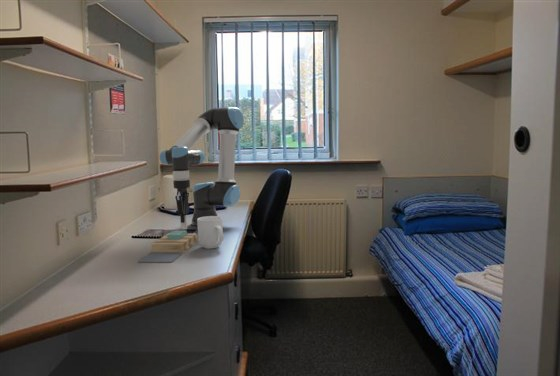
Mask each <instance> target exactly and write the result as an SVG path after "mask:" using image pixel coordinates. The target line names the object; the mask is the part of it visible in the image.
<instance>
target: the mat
mask: <svg viewBox="0 0 560 376" xmlns="http://www.w3.org/2000/svg"><path fill="white" fill-rule="evenodd" d="M183 254H184V253H183V252H152V251H151V252H150V253H148V254H147V255H146V256H144V257H143V258H141V259H140V260H138V261H137V263H148V264H149V263H151V264H152V263H153V264H154V263H157V264H158V263H159V264H160V263H166V264H167V263H168V264H170V263H171V264H172V263H174V262H175V260H177V259H178V258H179V257H180V256H182V255H183Z"/></svg>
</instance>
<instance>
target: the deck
mask: <svg viewBox="0 0 560 376" xmlns="http://www.w3.org/2000/svg"><path fill="white" fill-rule="evenodd" d="M168 234H169V233H167V234H165V235H163V236H162V237H160V238H158V239H157V240H156V241H153V242H152V243H151V244H150V249H151V252H183V254H184V253H185V252H187V251H188V250H189V249H191V247H193V246H194V245H195V244H197V243H198V233H187V235H186V236H184V237H183V238H181V239H167V235H168Z"/></svg>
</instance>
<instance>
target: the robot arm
mask: <svg viewBox="0 0 560 376" xmlns="http://www.w3.org/2000/svg"><path fill="white" fill-rule="evenodd" d="M244 123H245V118H244V114H243V112H242V111H241V109H240V108H239V107H236V106H234V107H233V106H229V107H227V106H225V107H214V108H210V109H207V110H206V111H204V112H203V113H202V114H200V115H199V116H198V117H197V118H196V119H195V120H194V123H193V124H192V125H191V126H190V128H189V129H187V130H186V132H185V133H184V134H183V135H182V136H181V137H180V138H179V139H178V140H177V141H176V142H175V143H174V144H173V145H172V146H171V147H170V148H169V149H165V150H162V151H161V152H160V153H159V160H160V163H161V164H162V165H165V166H172V173H171V174H172V176H173V178H172V179H173V183H172V184H173V189H176V190H177V191H176V192H177V193H176V195H175V201H176V202H175V203H176V208H177V216H178V217H179V220H180V221H179V222H180V230H187V229H188V215H190V214H189V198H190V193H189V192H188V189H189V188H191V181H190V166H192V167H193V166H199V165H201V164H203V163H204V161H205V153H204V152H203V150H201V149H193V147H194V146H195V145H196V144H197V143H198V142H199V140H200V139H201V138H202V137H203V136H205V134H208V133H210V131H213V130H217V132H218V134H219V135H220V136H219V152H218V153H219V155H218V173H217V177H218V178H217V179H216V180H215V181H210V182H209V181H207V182H201V183H196V184H194V185H193V187H192V189H193V191H192V193H193V209H194V210H193V211H194V212H193V214H192V219H191V225H192V226H194V227H198V226H197V219H198V218H200V217H205V216H218V213H217V210H216V207H227V208H228V207H234V206H236V205H237V204H238V203H239V201H240V198H241V190H240V186H239V185H237V181H236V180H235V167H236V166H235V165H236V164H235V163H236V161H235V160H236V142H237V141H236V140H237V135H238V134H239V133H240V130H241V129H242V128H243V127H244V125H245V124H244Z"/></svg>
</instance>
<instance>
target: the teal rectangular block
mask: <svg viewBox="0 0 560 376" xmlns="http://www.w3.org/2000/svg"><path fill="white" fill-rule="evenodd" d="M167 234H168V235H167V239H181V238H183V237H184V236H186V235H187V234H188V231H187V230H173V231H171V232H170V233H167Z"/></svg>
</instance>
